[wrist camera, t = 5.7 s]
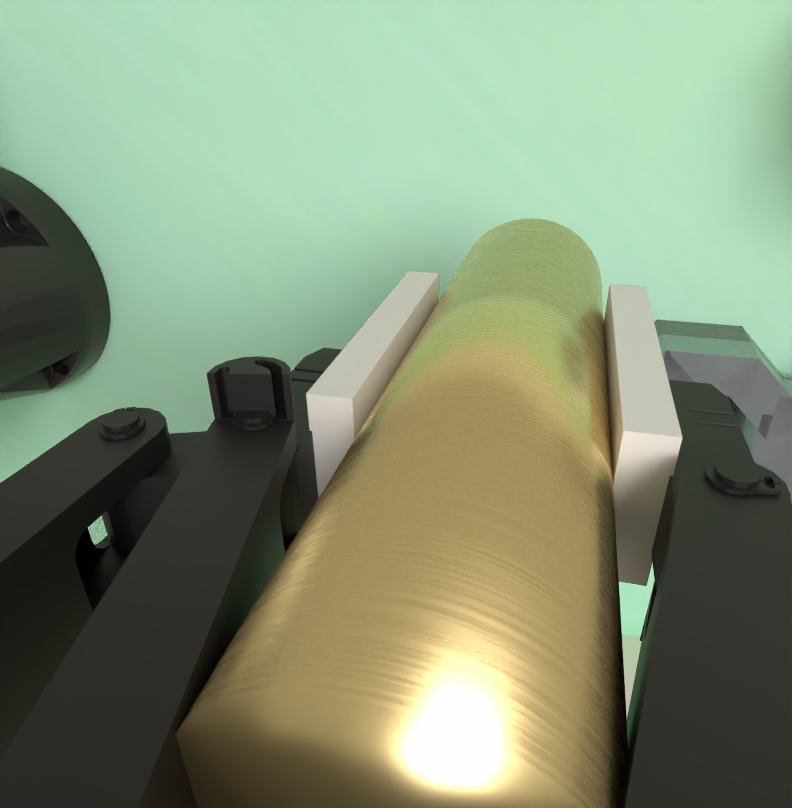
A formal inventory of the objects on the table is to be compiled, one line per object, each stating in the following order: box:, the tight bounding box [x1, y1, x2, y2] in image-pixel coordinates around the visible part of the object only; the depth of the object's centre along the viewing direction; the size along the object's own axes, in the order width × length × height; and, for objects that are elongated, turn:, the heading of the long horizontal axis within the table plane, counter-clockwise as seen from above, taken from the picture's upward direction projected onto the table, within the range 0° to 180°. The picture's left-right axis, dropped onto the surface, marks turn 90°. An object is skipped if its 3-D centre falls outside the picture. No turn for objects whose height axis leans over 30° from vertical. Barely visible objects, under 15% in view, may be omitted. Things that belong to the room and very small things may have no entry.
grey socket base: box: [654, 320, 792, 503], centre depth 32 cm, size 24×10×4 cm, turn 91°
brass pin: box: [176, 219, 629, 808], centre depth 12 cm, size 4×4×15 cm
